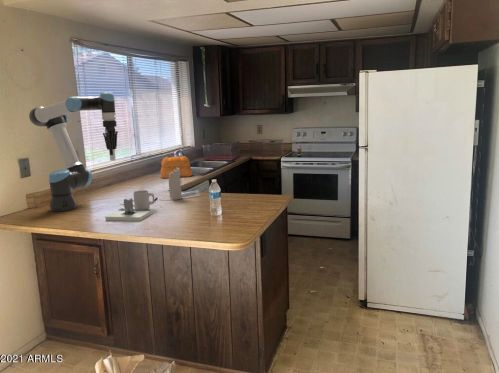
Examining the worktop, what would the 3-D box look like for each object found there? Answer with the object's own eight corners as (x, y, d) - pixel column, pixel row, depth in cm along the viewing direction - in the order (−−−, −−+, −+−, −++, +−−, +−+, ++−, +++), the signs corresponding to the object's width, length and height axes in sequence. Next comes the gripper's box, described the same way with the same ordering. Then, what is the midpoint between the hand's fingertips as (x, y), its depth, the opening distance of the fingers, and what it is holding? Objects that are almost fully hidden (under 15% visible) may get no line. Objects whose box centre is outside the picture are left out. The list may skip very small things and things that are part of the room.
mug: (137, 212, 243) (135, 194, 241) (133, 209, 250) (131, 191, 248) (157, 209, 249) (156, 191, 247) (152, 206, 256) (151, 188, 254)
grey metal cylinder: (123, 217, 233) (122, 200, 231) (127, 215, 237) (126, 198, 235) (131, 217, 232) (129, 200, 230) (135, 215, 236) (133, 198, 234)
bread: (192, 176, 357) (191, 156, 354) (161, 179, 352) (159, 158, 349) (191, 174, 372) (189, 154, 369) (160, 176, 367) (159, 156, 364)
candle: (159, 198, 277) (157, 168, 273) (180, 196, 281) (178, 166, 277) (160, 201, 270) (158, 170, 266) (182, 199, 274) (180, 168, 270)
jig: (105, 220, 229) (105, 215, 228) (119, 212, 244) (119, 207, 243) (140, 221, 225) (139, 215, 224) (152, 213, 240) (152, 208, 240)
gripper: (109, 120, 239) (113, 162, 243) (120, 119, 251) (124, 158, 256) (97, 120, 240) (101, 162, 245) (109, 119, 253) (112, 158, 257)
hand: (112, 160), depth 250 cm, fingers closed
